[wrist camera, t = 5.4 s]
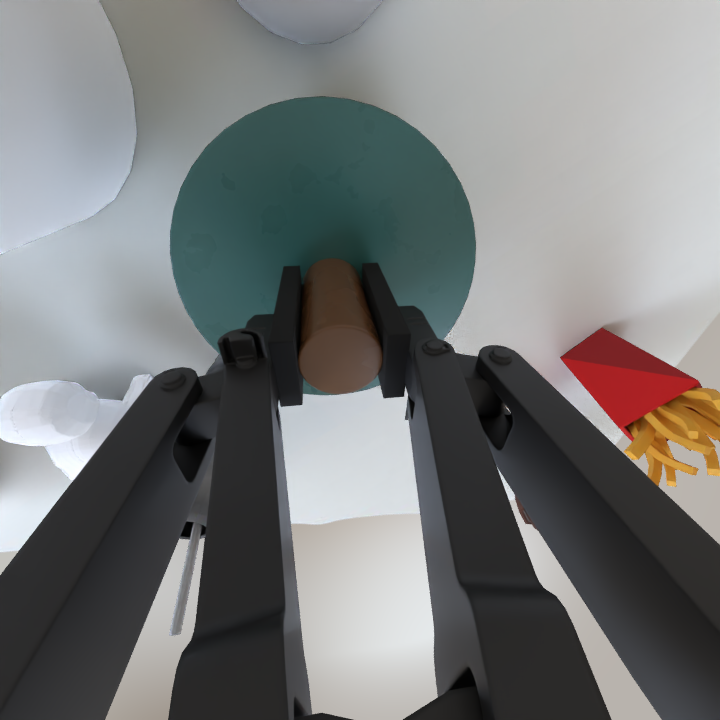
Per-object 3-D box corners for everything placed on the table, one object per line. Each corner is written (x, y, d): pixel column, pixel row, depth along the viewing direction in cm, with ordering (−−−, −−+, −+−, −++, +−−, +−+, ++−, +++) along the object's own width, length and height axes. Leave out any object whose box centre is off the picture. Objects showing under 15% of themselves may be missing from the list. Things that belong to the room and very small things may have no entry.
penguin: (194, 409, 37) (102, 333, 24) (182, 485, 33) (63, 441, 20) (119, 418, 37) (-14, 347, 24) (97, 496, 32) (-80, 459, 20)
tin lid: (222, 392, 21) (185, 502, 15) (120, 95, 12) (-81, 65, 6) (443, 375, 22) (492, 469, 16) (500, 100, 13) (656, 79, 7)
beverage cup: (252, 325, 28) (170, 586, 12) (290, 381, 33) (266, 629, 17) (181, 353, 29) (20, 630, 13) (228, 404, 33) (148, 660, 18)
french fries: (630, 349, 35) (792, 465, 23) (563, 394, 38) (674, 516, 26) (599, 304, 31) (775, 417, 19) (526, 358, 34) (638, 484, 22)
